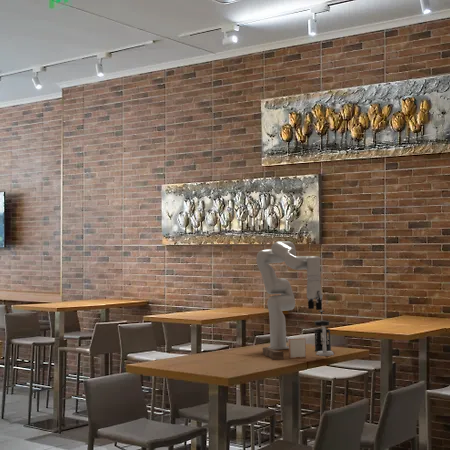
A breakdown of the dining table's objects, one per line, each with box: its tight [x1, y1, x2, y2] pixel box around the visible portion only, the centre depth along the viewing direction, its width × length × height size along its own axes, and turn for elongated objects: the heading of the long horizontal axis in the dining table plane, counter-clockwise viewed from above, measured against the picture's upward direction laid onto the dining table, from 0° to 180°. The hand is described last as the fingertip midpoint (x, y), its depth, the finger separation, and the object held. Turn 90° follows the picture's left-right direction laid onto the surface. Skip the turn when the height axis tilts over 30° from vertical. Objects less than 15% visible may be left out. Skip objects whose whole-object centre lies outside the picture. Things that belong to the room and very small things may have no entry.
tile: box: [288, 337, 307, 359], centre depth 404 cm, size 2×9×10 cm, turn 104°
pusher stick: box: [262, 346, 285, 361], centre depth 409 cm, size 23×6×4 cm, turn 14°
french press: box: [313, 310, 332, 353], centre depth 428 cm, size 12×9×23 cm
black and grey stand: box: [315, 326, 335, 357], centre depth 411 cm, size 10×10×15 cm
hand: (315, 309), depth 416 cm, fingers open, 9 cm apart
